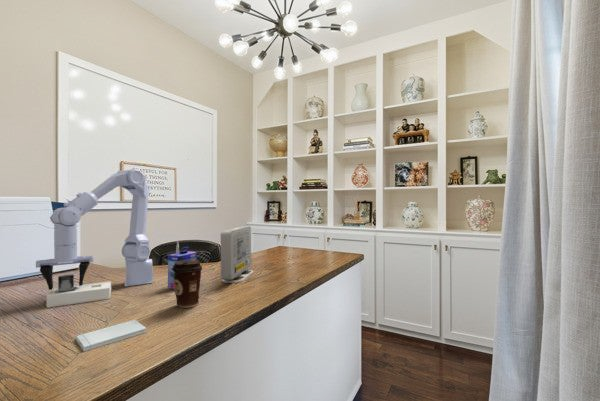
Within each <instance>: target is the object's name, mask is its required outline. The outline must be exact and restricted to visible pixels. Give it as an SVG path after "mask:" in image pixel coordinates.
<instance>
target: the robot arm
mask: <svg viewBox="0 0 600 401" xmlns="http://www.w3.org/2000/svg"><path fill="white" fill-rule="evenodd" d="M146 180H147V176H146V175H145V174H144V172H142V171H141V170H140V169H138V168H132V169H125V170H117V172H115V173H113V174H111V176H109V177H107V179H105V180H104V181H103V182H101V183H100V184H99V185H98V186H96V187H95V188H94V189H93V190H91V191H89V192H87V191H86V192H85V191H84V192H78V193H77V194H76V197H75V198H74V199H72V200H70V201H69V202H65V203H63V207H59V208H56V209H55V210H53V211H52V214H51V215H50V217H49V219H50V222H51V223H52V224H53V240H54V241H53V244H54V245H53V246H54V249H53V250H54V251H53V252H54V258H48V259H40V260H39V259H37V260H36V261H35V268H36V269H37V268H39V271H40V273H41V274H42V276H43V279H44V280H45V282H46V285H47V287H48V290H50V291H52V290H53V288H54V280H53V278H54V277H53V275H54V274H53V273H54V266H64V265H75V264H79V265H78V269H79V270H78V271H79V279H78V280H79V281H78V285H79V286H82V285H83V284H84V278H85V275H86V272H87V270H88V267H89V265H90V263H94V255H86V256H85V255H84V256H83V255H82V256H80V255H79V256H78V246H77V245H78V244H77V243H78V242H77V241H78V239H77V238H78V237H77V236H78V235H77V234H78V233H77V230H78V229H77V224H78V223H79V222H80V220H81V217H82V216H84V215H86V214H87V213H88V212H90V211H91V210H92V209H94V208H95V207H96V206H97V205H98V202H99V201H98V200H99V199H101V198H102V197H104V196H106V195H107V194H108V193H110V192H112V191H113V190H114V189H116V188H117V187H121V188H123V189H124V190H127V191H128V192H129V193H130V194H131V195H132V202H131V211H130V212H131V213H130V223H129V233H128V236H127V237H126V238H125V239H124V245H123V246H122V248H121V254H122V256H123V258H124V260H125V280H124V286H123V287H131V286H140V285H146V284H152V283H154V282H153V280H154V272H153V259H152V258H149V256H150V255H151V247H150V240H149V239H148V237H147V236H146V227H147V217H148V216H147V215H148V205H149V196H150V195H149V187H148V184H147V182H146Z"/></svg>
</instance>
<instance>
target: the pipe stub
mask: <svg viewBox="0 0 600 401" xmlns="http://www.w3.org/2000/svg"><path fill="white" fill-rule="evenodd" d="M57 279H58V280H57V283H58V284H57V286H58V287H57V288H58V293H60V292H68V291H74V286H75V274H72V273H70V274H63V275H59V276H57Z"/></svg>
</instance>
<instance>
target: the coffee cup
mask: <svg viewBox="0 0 600 401" xmlns="http://www.w3.org/2000/svg"><path fill="white" fill-rule="evenodd" d="M172 270H173V271H174V286H175V289H174V294H175V300H176V306H177V307H179V308H184V309H185V308H186V309H187V308H194V307H196V306H198V305H199V303H200V301H199V299H200V292H201V291H200V288H201V277H202V275H201V274H202V270H203V266H202V265H201V262H200V261H190V260H186V261H178V262H176V263H175V264H174V267H173V268H172Z"/></svg>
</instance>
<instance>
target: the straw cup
mask: <svg viewBox="0 0 600 401" xmlns="http://www.w3.org/2000/svg"><path fill="white" fill-rule="evenodd" d="M189 249H190V246H185V247H182V248H181V250H179V253H176V252H175V253H172V254H168V255H167V288H168V289H171V290H172V289H173V290H175V286H174V271H173V270H172V268H173V267H174V264H175V263H176V262H178V261H186V260H190V261H197V260H198V258H197V257H198V253H197V252H196V251H189Z"/></svg>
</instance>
